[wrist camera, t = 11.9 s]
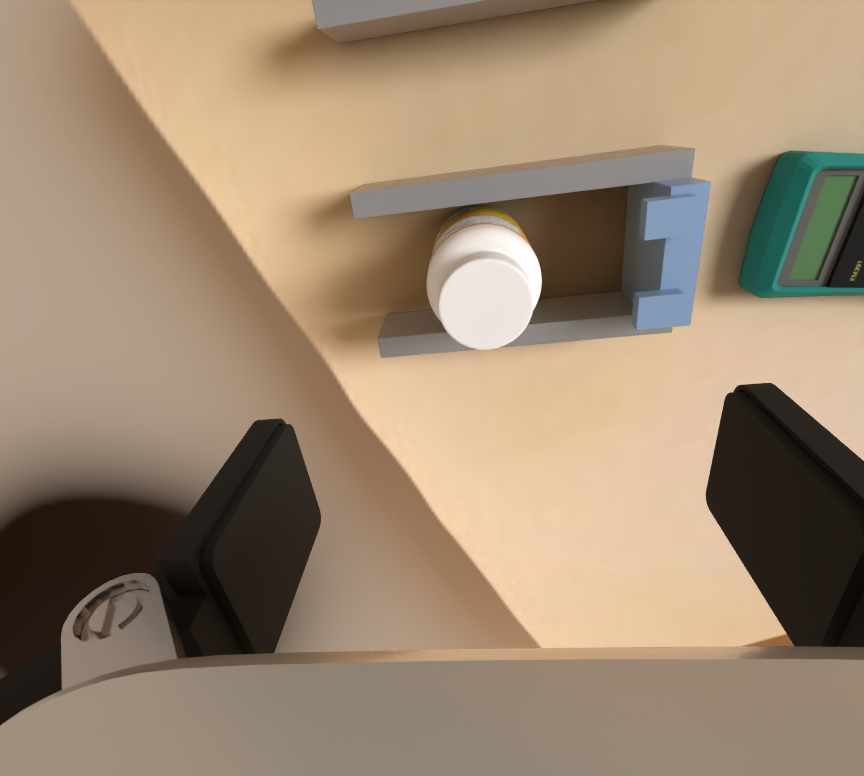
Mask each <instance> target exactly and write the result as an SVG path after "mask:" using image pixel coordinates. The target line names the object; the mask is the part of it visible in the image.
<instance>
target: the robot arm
mask: <svg viewBox="0 0 864 776" xmlns="http://www.w3.org/2000/svg"><path fill="white" fill-rule="evenodd" d="M706 501H707V505H708V508H709V510H710V511H711V513H712V515H713V516H714V518H715V519H716V521H717V523H718V524H719V526H720V527H721V529H722V531H723V532H724V534H725V535H726V537H727V539H728V540H729V542H730V543H731V545H732V547H733V548H734V550H735V551H736V553H737V555H738V556H739V558H740V559H741V561H742V563H743V564H744V566H745V567H746V569H747V571H748V572H749V574H750V575H751V577H752V579H753V580H754V582H755V583H756V585H757V587H758V588H759V590H760V592H761V593H762V595H763V596H764V598H765V600H766V601H767V603H768V604H769V606H770V608H771V609H772V611H773V612H774V614H775V616H776V617H777V619H778V620H779V622H780V624H781V625H782V627H783V628H784V630H785V632H786V633H787V635H788V636H789V638H790V639H791V641H792V643H793V644H794V646H774V647H773V646H771V647H770V646H767V647H766V646H763V647H761V646H760V647H618V648H533V649H462V650H461V649H459V650H458V649H457V650H399V651H349V652H348V651H344V652H295V653H274V652H275V649H276V646H277V643H278V641H279V638H280V635H281V632H282V630H283V627H284V624H285V621H286V619H287V616H288V613H289V610H290V608H291V605H292V602H293V599H294V596H295V594H296V591H297V588H298V585H299V583H300V580H301V577H302V574H303V572H304V569H305V566H306V563H307V561H308V558H309V555H310V552H311V550H312V547H313V544H314V541H315V539H316V536H317V533H318V530H319V528H320V522H321V515H320V509H319V506H318V503H317V500H316V497H315V493H314V490H313V487H312V484H311V481H310V478H309V475H308V472H307V469H306V465H305V463H304V459H303V456H302V453H301V450H300V447H299V444H298V440H297V437H296V434H295V431H294V429H293V427H292V425H290V424H286V423H285V422H284V420H282V419H268V420H257V421H255V422H254V423H253V424H252V426H251V427H250V429H249V430H248V431H247V433H246V434H245V436H244V437H243V439H242V440H241V441H240V443H239V444H238V445H237V447H236V448H235V450H234V451H233V453H232V454H231V456H230V457H229V458H228V460H227V461H226V462H225V464H224V465H223V467H222V468H221V470H220V471H219V472H218V474H217V475H216V477H215V478H214V480H213V481H212V482H211V484H210V485H209V487H208V488H207V489H206V491H205V492H204V494H203V495H202V497H201V498H200V499H199V501H198V502H197V503H196V505H195V506H194V508H193V509H192V510H191V512H190V513H189V515H188V516H187V518H186V519H185V520H184V522H183V523H182V525H181V526H180V527H179V529H178V530H177V532H176V533H175V535H174V536H173V537H172V539H171V540H170V542H169V543H168V544H167V546H166V547H165V549H164V550H163V551H162V553H161V554H160V556H159V557H158V559H157V560H156V561H157V563H158V566H157V568H156V569H155V571H154V572H153V573H152V575H151V576H150V575H148V574H142V573H134V574H129V575H125V576H121V577H119V578H116V579H114V580H112V581H109V582H107V583H105V584H104V585H102V586H100V587H99V588H97V589H96V590H94V591H93V592H91V593H90V594H89V595H88V596H87V597H85V598H84V599H83V600H82V601H81V602H80V603H79V604H78V605H77V606H76V607H75V608H74V610H73V611H72V612H71V613H70V615H69V616H68V618H67V620H66V622H65V623H64V626H63V630H62V635H61V644H59V645H57V646H56V647H54V648H52V649H51V650H49V651H48V652H46V653H44V654H42V655H41V656H39V657H38V658H36V659H34V660H32V661H31V662H29V663H27V664H25V665H24V666H22V667H20V668H19V669H17V670H15V671H14V672H12V673H10V674H9V675H7V676H5V677H3V678H2V679H0V776H864V461H863V460H862V459H861V458H859V457H858V456H857V455H856V454H855V453H854V452H852V451H851V450H850V449H849V448H848V447H847V446H845V445H844V444H843V443H842V442H841V441H840V440H838V439H837V438H836V437H835V436H834V435H833V434H831V433H830V432H829V431H828V430H827V429H826V428H824V427H823V426H822V425H821V424H820V423H819V422H817V421H816V420H815V419H814V418H813V417H812V416H810V415H809V414H808V413H807V412H806V411H805V410H803V409H802V408H801V407H800V406H799V405H798V404H796V403H795V402H794V401H793V400H792V399H791V398H789V397H788V396H787V395H786V394H785V393H784V392H782V391H781V390H780V389H779V388H778V387H777V386H775V385H774V384H772V383H761V384H748V385H739V386H737V387H736V388H735V390H734V392H733V393H728V394H727V396H726V397H725V401H724V406H723V411H722V416H721V420H720V425H719V430H718V435H717V440H716V445H715V450H714V455H713V460H712V465H711V470H710V475H709V480H708V485H707V490H706Z"/></svg>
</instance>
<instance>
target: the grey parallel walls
mask: <svg viewBox="0 0 864 776" xmlns="http://www.w3.org/2000/svg"><path fill="white" fill-rule="evenodd" d="M590 1H596V0H312V4H313V9H314V14H315V19H316V24H317V29H318V30H320V31H321V32H323V33H324V34H326V35H327V36H329V37H330V38H332V39H333V40H335V41H337V42H338V43H345V42H351V41H357V40H363V39H369V38H375V37H381V36H387V35H393V34H399V33H405V32H411V31H417V30H423V29H429V28H435V27H441V26H447V25H453V24H459V23H465V22H471V21H477V20H483V19H489V18H495V17H501V16H507V15H513V14H519V13H525V12H531V11H537V10H543V9H549V8H555V7H561V6H567V5H572V4H578V3H584V2H590ZM694 152H695V149H694V148H684V147H674V146H665V145H661V146H653V147H646V148H638V149H630V150H623V151H615V152H608V153H600V154H592V155H585V156H577V157H569V158H562V159H554V160H547V161H539V162H531V163H524V164H516V165H508V166H501V167H493V168H486V169H478V170H470V171H463V172H455V173H447V174H440V175H432V176H425V177H417V178H409V179H402V180H394V181H386V182H379V183H371V184H364V185H363V186H361V187H359V188H358V189H356V190H354V191H352V192H351V193H349V194H350V200H351V205H352V210H353V215H354V219H358V218H366V217H374V216H382V215H390V214H399V213H407V212H415V211H423V210H431V209H439V208H447V207H456V206H464V205H472V204H480V203H488V202H496V201H504V200H513V199H521V198H529V197H537V196H545V195H553V194H561V193H569V192H578V191H586V190H594V189H602V188H610V187H618V186H626V185H628V197H627V212H626V227H625V241H624V256H623V270H622V285H621V291H616V292H606V293H596V294H585V295H575V296H565V297H555V298H545V299H538V302H537V304H536V306H535V308H534V310H533V312H532V316H531V319H530V321H529V323H528V325H527V327H526V328H525V330H524V331H523V332H522V333H521V334H520V335H519V336H518V337H517V338H516V339H515V340H513V341H512V342H510V343H508V344H506V345H504V346H502V347H510V346H521V345H532V344H544V343H555V342H567V341H578V340H589V339H601V338H612V337H623V336H635V335H646V334H658V333H669V332H672V327H676V326H686V325H690V323H691V316H692V309H693V302H694V295H695V288H696V281H697V275H698V268H699V261H700V254H701V247H702V240H703V233H704V226H705V220H706V213H707V206H708V199H709V192H710V185H711V182H708V181H704V180H700V179H695V178H691V176H692V168H693V160H694ZM378 344H379V349H380V354H381V358H385V357H396V356H407V355H419V354H430V353H441V352H453V351H464V350H476V349H474V348H470V347H467V346H465V345H462V344H461V343H459V342H457V341H456V340H455V339H453V338H452V337H451V336H450V335H449V334H448V332H447V331H446V330H445V328H444V327H443V325H442V322H441V321H440V320H439V319H438V318H437V316H436V315H435V313H434V311H433V310H423V311H413V312H403V313H393V314H387V317H386V319H385V322H384V324H383V327H382V329H381V331H380V334H379V336H378Z"/></svg>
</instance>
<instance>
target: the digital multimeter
mask: <svg viewBox="0 0 864 776" xmlns="http://www.w3.org/2000/svg"><path fill="white" fill-rule="evenodd" d="M740 286H741V287H742V288H744V289H745V290H747V291H749V292H750V293H752V294H754V295H755V296H757V297H760V298H773V297H802V296H831V295H864V154H854V153H831V152H807V151H789V152H785V153H784V154H783V155H781V156H780V158H779V160H778V161H777V163H776V166H775V168H774V171H773V173H772V176H771V178H770V181H769V183H768V185H767V188H766V190H765V193H764V196H763V198H762V201H761V204H760V206H759V209H758V212H757V215H756V218H755V221H754V224H753V228H752V231H751V234H750V238H749V242H748V246H747V250H746V254H745V258H744V263H743V267H742V272H741V277H740Z"/></svg>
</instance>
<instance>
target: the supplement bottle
mask: <svg viewBox="0 0 864 776" xmlns="http://www.w3.org/2000/svg"><path fill="white" fill-rule="evenodd" d="M541 286H542V276H541V269H540V265H539V262H538V259H537V257H536V254H535V253H534V251H533V249H532V247H531V245H530V243H529V242H528V240H527V238H526V236H525V234H524V233H523V231H522V229H521V227H520V226H519V224H518V223H517V222H516V221H515V219H514V218H513V217H511V216H510V215H509V214H508V213H506V212H505V211H503V210H501V209H499V208H496V207H494V206H489V205H474V206H469V207H466V208H463V209H461V210H459V211H457V212H456V213H454V214H453V215H452V216H450V217H449V218H448V219H447V220H446V222H445V223H444V224H443V225H442V227H441V228H440V230H439V232H438V234H437V237H436V240H435V243H434V247H433V251H432V256H431V260H430V264H429V268H428V274H427V295H428V299H429V302H430V305H431V307H432V309H433V311H434V313H435V315H436V316H437V318H438V319H439V320H440V321H441V322H442V325H443V327H444V328H445V330H446V331H447V332H448V334H449V335H450V336H451V337H452V338H453V339H455V340H456V341H457V342H459V343H461V344H462V345H465V346H467V347H470V348H474V349H480V350H488V349H495V348H499V347H502V346H504V345H506V344H508V343H510V342H512V341H513V340H515V339H516V338H517V337H518V336H519V335H520V334H521V333H522V332H523V331H524V330H525V328H526V327H527V325H528V323H529V321H530V319H531V316H532V312H533V310H534V308H535V306H536V304H537V302H538V299H539V296H540V292H541Z"/></svg>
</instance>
